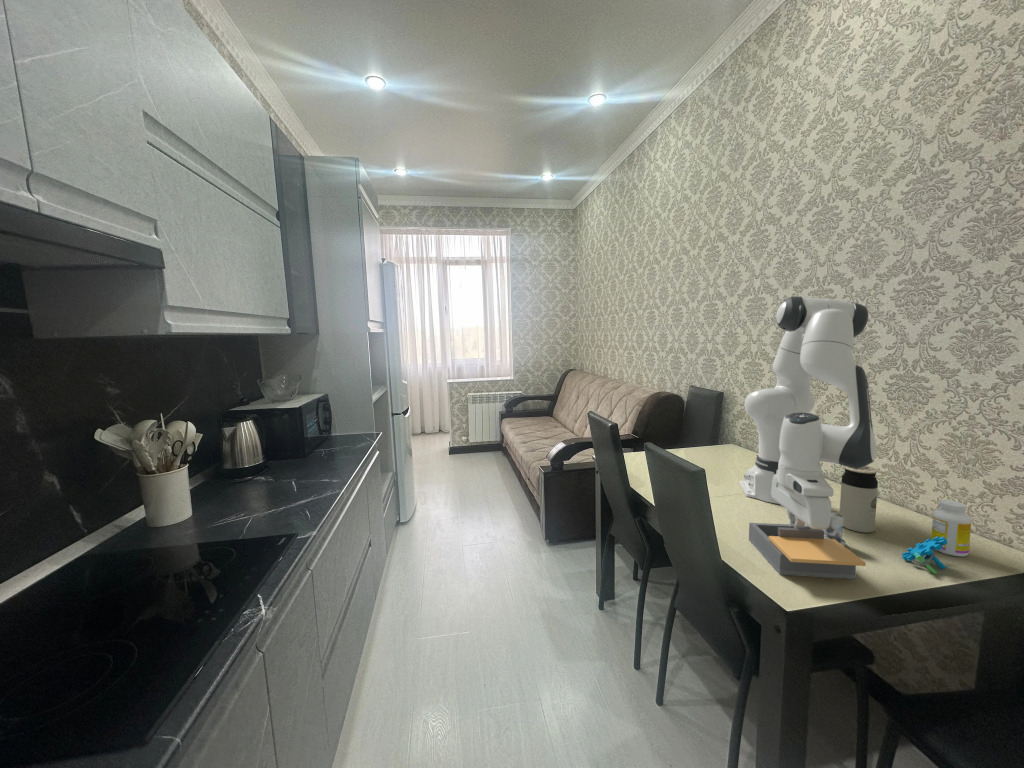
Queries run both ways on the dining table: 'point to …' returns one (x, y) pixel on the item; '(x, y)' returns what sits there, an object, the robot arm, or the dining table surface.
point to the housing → (783, 564)
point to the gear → (926, 552)
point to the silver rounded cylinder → (835, 528)
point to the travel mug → (859, 498)
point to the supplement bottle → (952, 527)
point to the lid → (812, 547)
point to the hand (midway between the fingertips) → (796, 529)
